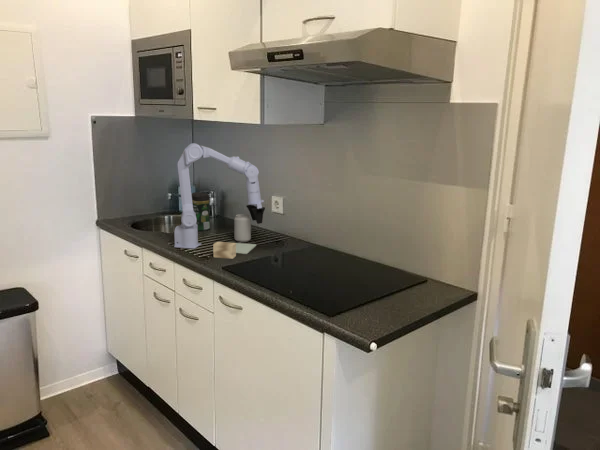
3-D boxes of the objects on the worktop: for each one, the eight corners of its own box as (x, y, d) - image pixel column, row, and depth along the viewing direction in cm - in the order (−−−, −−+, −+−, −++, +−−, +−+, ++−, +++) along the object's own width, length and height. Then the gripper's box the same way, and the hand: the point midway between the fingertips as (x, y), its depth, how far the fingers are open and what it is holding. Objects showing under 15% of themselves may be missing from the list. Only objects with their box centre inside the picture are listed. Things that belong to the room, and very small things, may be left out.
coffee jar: (188, 228, 243) (187, 192, 239) (201, 226, 249) (201, 190, 245) (199, 232, 237) (198, 194, 233) (212, 229, 242) (212, 193, 238)
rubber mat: (212, 251, 204) (212, 250, 203) (223, 243, 217) (223, 242, 217) (247, 253, 201) (247, 252, 201) (256, 245, 214) (256, 244, 214)
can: (253, 239, 225) (253, 213, 223) (247, 243, 218) (247, 217, 216) (237, 237, 227) (237, 212, 224) (231, 241, 220) (231, 215, 217)
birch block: (213, 257, 195) (213, 244, 194) (217, 254, 199) (217, 241, 198) (232, 258, 194) (232, 245, 192) (236, 256, 198) (235, 243, 197)
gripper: (267, 192, 207) (270, 223, 210) (257, 188, 220) (261, 217, 224) (251, 195, 205) (255, 226, 208) (242, 190, 218) (246, 219, 221)
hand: (257, 221), depth 216 cm, fingers open, 7 cm apart
